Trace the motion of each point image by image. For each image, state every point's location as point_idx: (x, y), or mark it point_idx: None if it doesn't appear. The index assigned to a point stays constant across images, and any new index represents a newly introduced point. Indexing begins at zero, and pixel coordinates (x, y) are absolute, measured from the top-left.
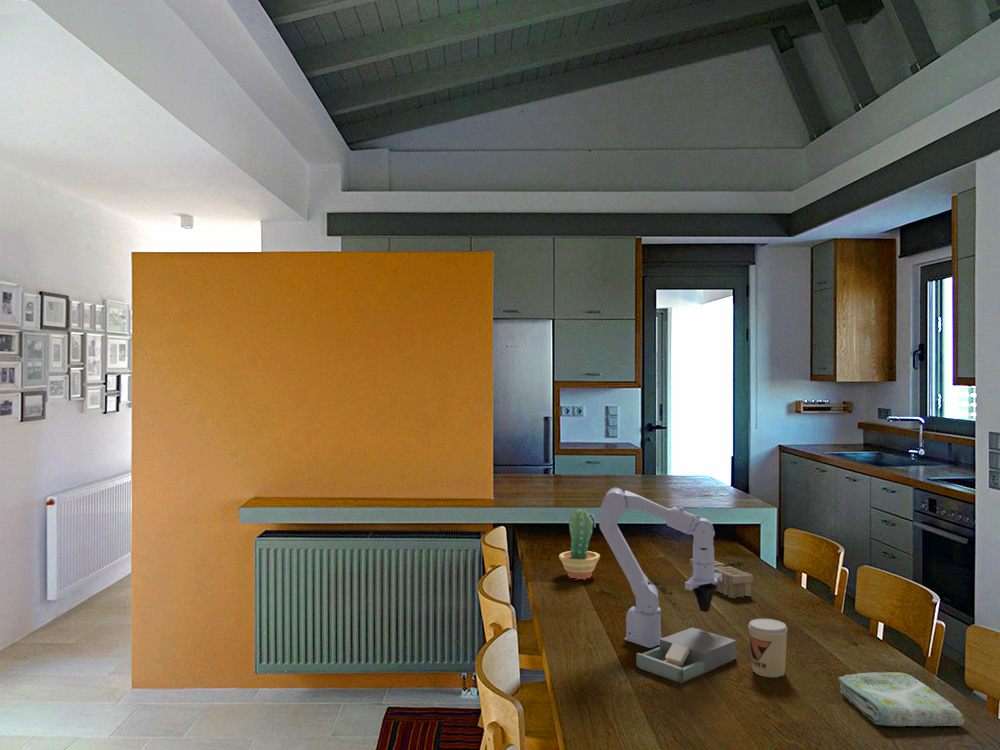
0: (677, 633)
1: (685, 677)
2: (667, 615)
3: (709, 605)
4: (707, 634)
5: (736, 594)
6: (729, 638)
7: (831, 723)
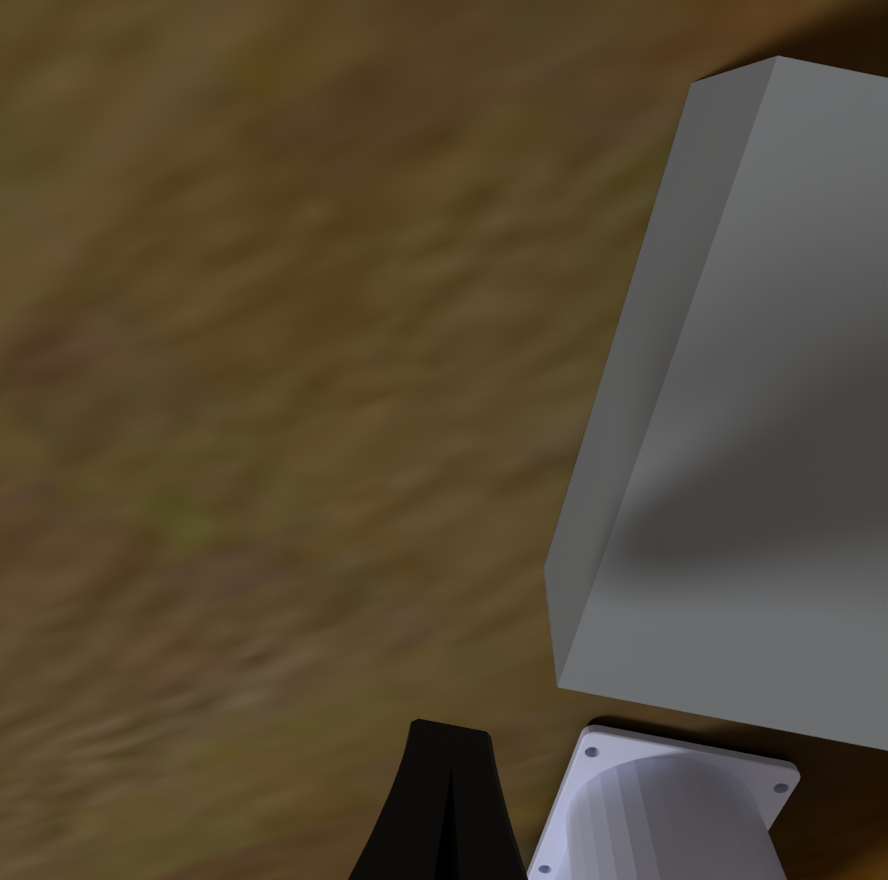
0: (833, 728)
1: None
2: (101, 871)
3: (422, 797)
4: (714, 487)
5: None
6: (737, 185)
7: None
